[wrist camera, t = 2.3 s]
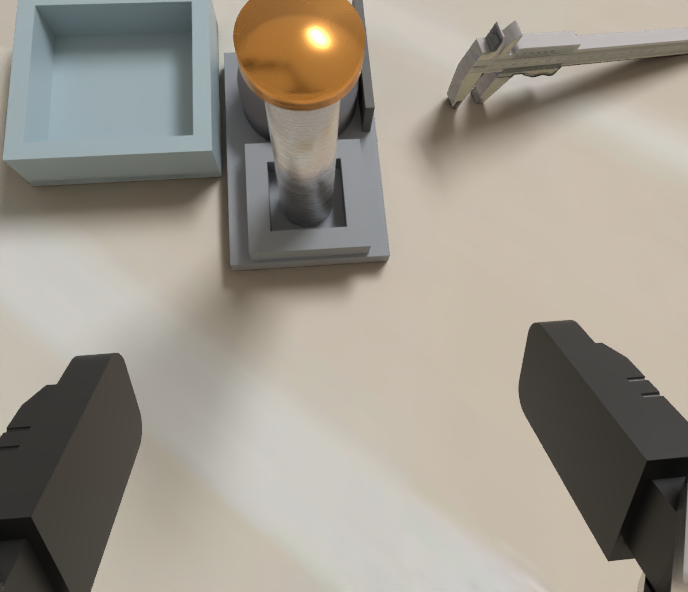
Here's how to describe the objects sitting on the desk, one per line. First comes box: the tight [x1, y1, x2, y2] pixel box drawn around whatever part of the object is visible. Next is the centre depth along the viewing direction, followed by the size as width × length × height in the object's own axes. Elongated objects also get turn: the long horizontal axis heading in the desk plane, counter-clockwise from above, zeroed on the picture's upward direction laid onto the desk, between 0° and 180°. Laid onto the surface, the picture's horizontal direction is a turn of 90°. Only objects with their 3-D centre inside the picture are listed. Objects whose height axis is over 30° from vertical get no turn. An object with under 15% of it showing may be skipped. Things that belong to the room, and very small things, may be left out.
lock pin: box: [233, 0, 365, 227], centre depth 23 cm, size 4×4×13 cm
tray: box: [3, 0, 222, 186], centre depth 30 cm, size 11×11×3 cm
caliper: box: [447, 21, 688, 108], centre depth 31 cm, size 20×1×6 cm, turn 107°
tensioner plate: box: [224, 0, 390, 271], centre depth 30 cm, size 9×16×4 cm, turn 5°
